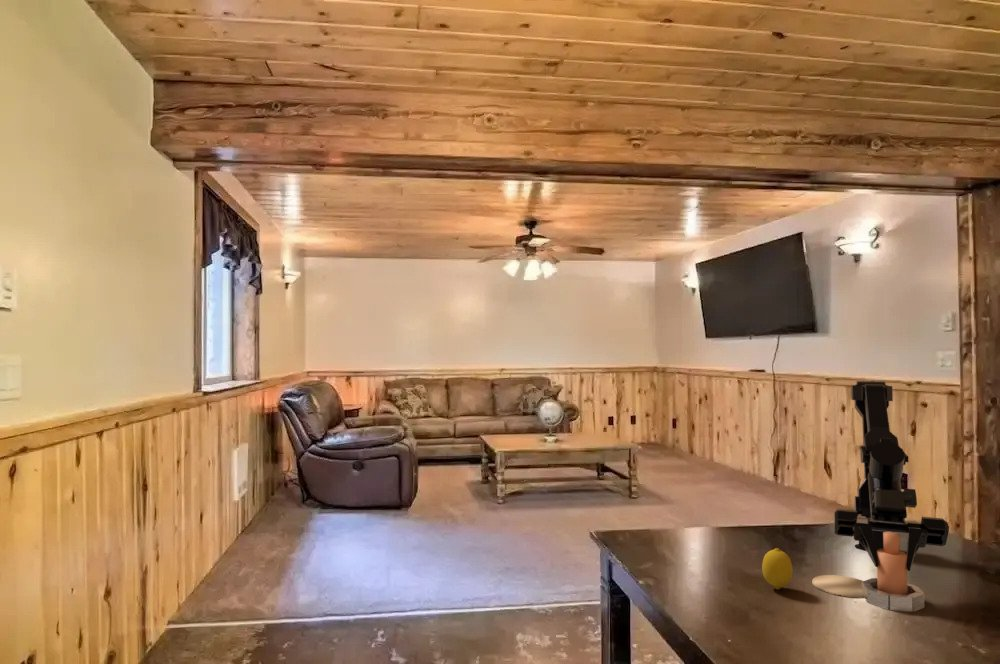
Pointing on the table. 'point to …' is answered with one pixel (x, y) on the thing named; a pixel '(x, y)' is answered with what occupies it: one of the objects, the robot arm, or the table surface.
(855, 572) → the table surface
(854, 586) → the coaster
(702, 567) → the table surface
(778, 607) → the table surface
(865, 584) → the ring
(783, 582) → the lemon
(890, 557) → the pin
